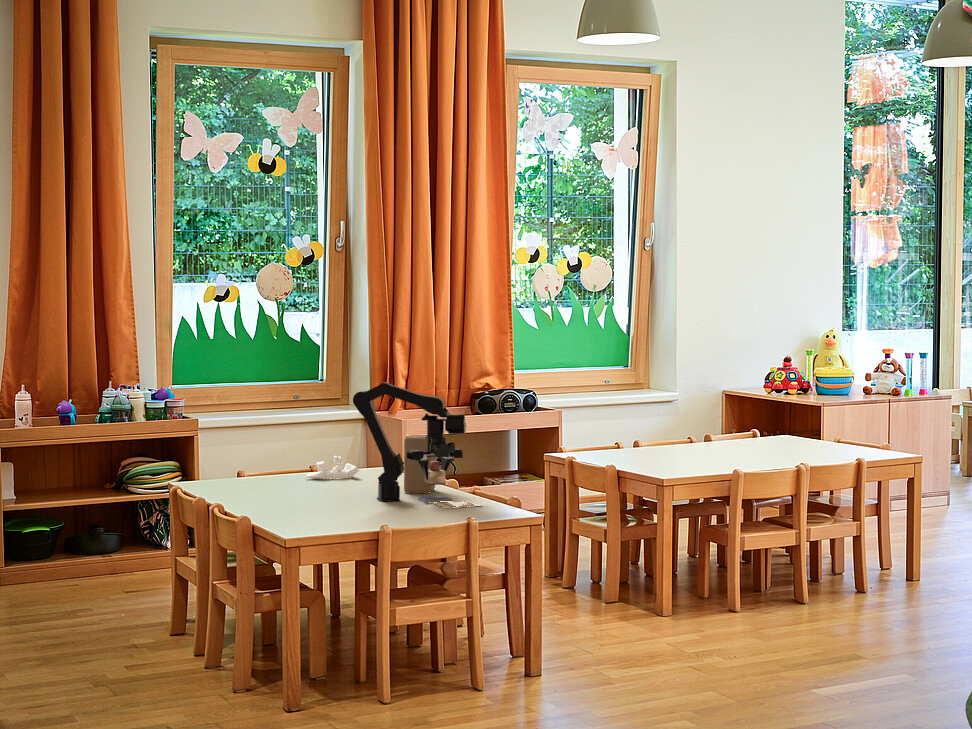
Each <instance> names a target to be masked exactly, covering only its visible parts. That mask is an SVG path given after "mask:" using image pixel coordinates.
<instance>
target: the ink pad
mask: <svg viewBox="0 0 972 729" xmlns="http://www.w3.org/2000/svg"><path fill="white" fill-rule="evenodd" d="M418 500H419V501H418ZM417 501H418V502H420V501H421V503H422V502H424V503H423V504H425V503H427V504H430V503H429V502H440V501H453V498H452V497H450V496H447V495H445V494H437V495H423V496H422V495H421V496H417Z"/></svg>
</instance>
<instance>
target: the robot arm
mask: <svg viewBox="0 0 972 729" xmlns="http://www.w3.org/2000/svg"><path fill="white" fill-rule="evenodd" d="M383 395H385V396H388V397H392V398H394V399H397V400H400V401H404V402H406V403H410V404H413V405H415V406H417V407H418V408H420V409H422V410H423V411H426V413H425V414H424V415H423V417H422V418H421V421H426V435H427V436H426V439H427V448H426V451H427V452H423V451H421V450H408V452H407V458H408V459H411V460H416V461H418V462H419V464H420V466H421V468H422V471H423V473H424V476H425V478H426V480H428V462H429V460H427V457H435V458H438V459H440V470H443V471H445V475H446V473H447V471H448V468H449V466H450V464H451V463H453V461H456V459H463V458H464V451H463V450H462V449H460V448H457V447H456V444H455V442H454V441H453V442H446V437H445V436H444V434H445V433H444V432H448V434H449V435H465V434H466V430H467V428H466V427H467V424H466V414H464V413H461V414H451V413H450V412H449V410H448V409H447V408H446V406H445V405H446V403H445V400H444V399H443V398H442V397H440V396H437V395H436V396H435V395H429V394H428V395H427V394H421V393H418V392H415V391H411V390H410V389H406V388H404V387H403V388H402V387H400V386H397V385H394V384H391V383H390V382H387V381H386V382H385V381H384V382H381V383H380V384H379V385H377V386H374V387H372V388H371V389H368V390H360V391H358V392H356V393H355V394H354V395H353V397H352V403H353V406H354V407H355V408H356V409H357V411H358V412H359V413H360V415H361V416H362V417H363V418H364V420H365V422H366V424H367V427H368V429H369V431H370V433H371V436H372V437H373V440H374V442H375V445H376V447H377V449H378V451H379V454H380V456H381V463H382V468H383V472H382V473H381V474H380V475H379V476H378V477H377V479H378V482H377V483H378V487H377V491H378V495H377V497H376V499H377V500H378V501H381V502H394V501H395V502H397V501H401V497H400V496H401V487H400V485H399V481H398V479H399V477H400V476H402V475H403V474H404V464H405V463H404V460H403V459H402V456H401V453H400V452H399V453H397V454H396V452H394V450H393V449H392V446H391V445H390V442H389V440H388V438H387V437H388V436H387V435H386V433H385V431H384V429H383V427H382V424H381V422H380V419H379V418H378V415H377V413H376V406H375V405H376V404H375V401H374V400H376V399H378V398H380V397H381V396H383ZM430 414H431V415H430ZM444 430H445V431H444Z"/></svg>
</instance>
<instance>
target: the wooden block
mask: <svg viewBox="0 0 972 729" xmlns="http://www.w3.org/2000/svg"><path fill="white" fill-rule="evenodd" d="M426 436H427V434H425V435H424V434H410V435H408V436H406V437H405V438H404V441H403V444H404V445H403V447H404V448H403V449H404V451H403V453H404V454H403V459H404V460H403V462H404V463H405V464H404V465H403V466H404V471H403V491H404V493H406V492H409V493H408V494H427V493H429V492H431V493H432V492H433V491H434V490H435V489H436V485H429V484H426V483H424V473H423V471H422V468H421V466H420V464H419V462H418V461H416V460H411V459H408V458H407V452H408V450H421V451H423V452H427V451H426V448H427V439H426ZM427 460H429V462H428V470H430V462H431V461H436V457H427ZM434 488H435V489H434ZM433 489H434V490H433ZM429 494H430V493H429Z"/></svg>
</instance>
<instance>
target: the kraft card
mask: <svg viewBox="0 0 972 729" xmlns="http://www.w3.org/2000/svg"><path fill="white" fill-rule="evenodd" d="M455 501H456V502H457V501H458V502H459V501H460V502H461V501H462V500H455ZM463 501H464V502H466V501H467V500H463ZM472 503H475V502H474V501H472ZM472 503H470V502H467V503H466V504H465V505H464V504H462V506H459V507H467V506H468V507H469V506H474V504H472ZM435 504H437V505H436V506H438V505H440V506H442V507H441V508H443V507H445V508H453V507H456V506H454V505H452V504H450V503H448V502H437V503H435ZM435 504H434V505H435ZM440 506H439V507H440ZM445 508H444V509H445ZM469 508H470V507H469Z"/></svg>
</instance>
